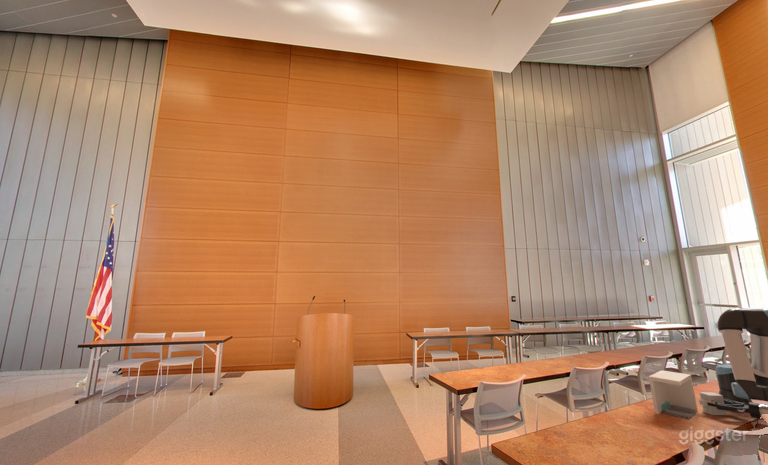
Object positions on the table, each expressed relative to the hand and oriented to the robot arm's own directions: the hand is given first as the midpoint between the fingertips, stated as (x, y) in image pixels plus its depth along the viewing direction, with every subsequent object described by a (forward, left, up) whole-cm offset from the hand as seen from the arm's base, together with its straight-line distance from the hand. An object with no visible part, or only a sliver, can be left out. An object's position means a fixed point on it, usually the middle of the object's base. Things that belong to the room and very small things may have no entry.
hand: (701, 399), depth 180 cm
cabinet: (+9, +15, -6) cm, 18 cm away
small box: (-4, 0, -6) cm, 8 cm away
